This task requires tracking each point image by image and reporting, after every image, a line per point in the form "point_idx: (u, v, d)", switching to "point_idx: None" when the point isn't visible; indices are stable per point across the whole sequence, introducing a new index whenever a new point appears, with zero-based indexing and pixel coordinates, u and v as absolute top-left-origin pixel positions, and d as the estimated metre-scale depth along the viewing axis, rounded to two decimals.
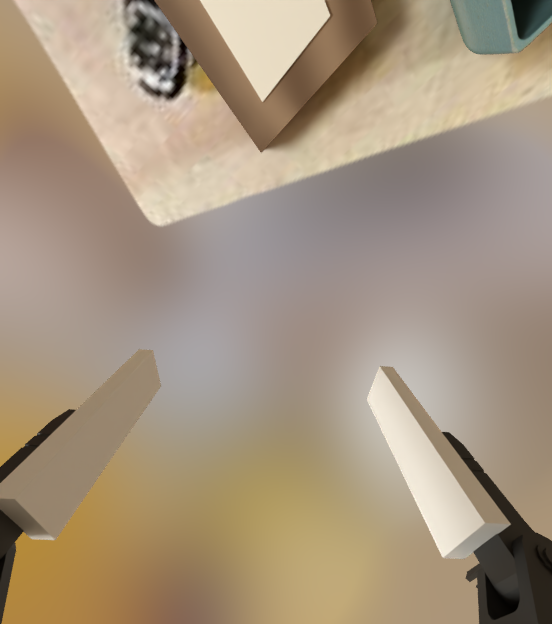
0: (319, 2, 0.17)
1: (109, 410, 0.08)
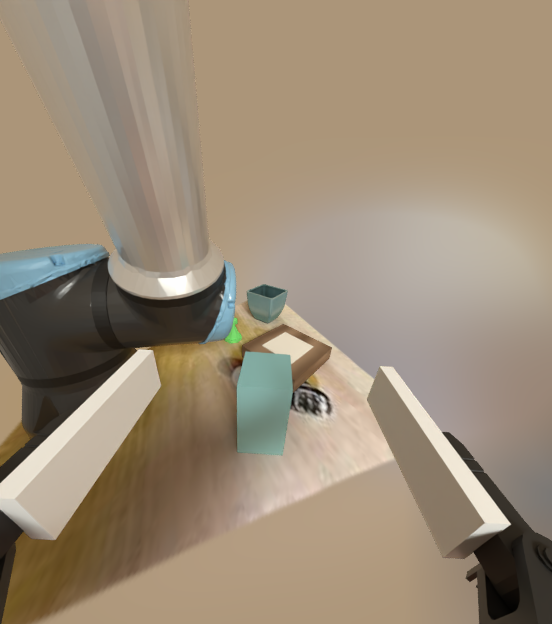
0: (283, 334, 0.48)
1: (109, 410, 0.08)
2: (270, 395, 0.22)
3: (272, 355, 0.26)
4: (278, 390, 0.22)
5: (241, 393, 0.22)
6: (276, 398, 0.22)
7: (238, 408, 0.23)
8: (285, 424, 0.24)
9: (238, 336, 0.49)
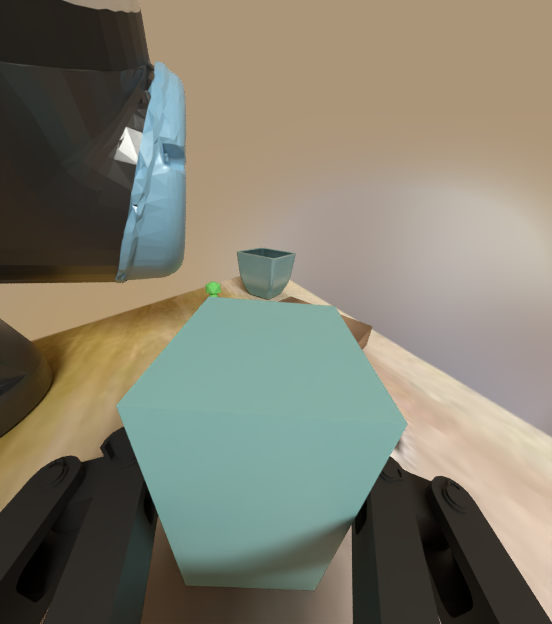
0: None
1: None
2: (289, 447, 0.05)
3: (285, 306, 0.09)
4: (333, 426, 0.04)
5: (151, 441, 0.05)
6: (317, 458, 0.05)
7: (155, 492, 0.06)
8: (338, 535, 0.07)
9: None
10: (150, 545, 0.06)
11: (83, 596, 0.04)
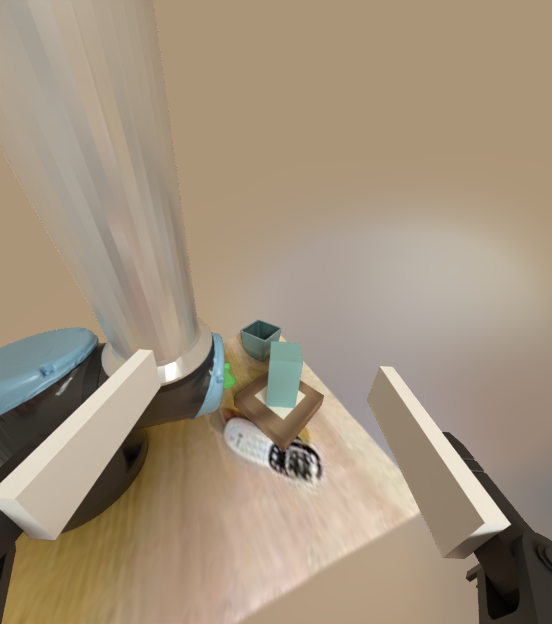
0: None
1: (110, 410, 0.08)
2: (289, 366, 0.37)
3: (288, 343, 0.41)
4: (294, 362, 0.36)
5: (272, 365, 0.36)
6: (292, 368, 0.37)
7: (269, 374, 0.38)
8: (297, 385, 0.39)
9: (231, 380, 0.50)
10: None
11: None
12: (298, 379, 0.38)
